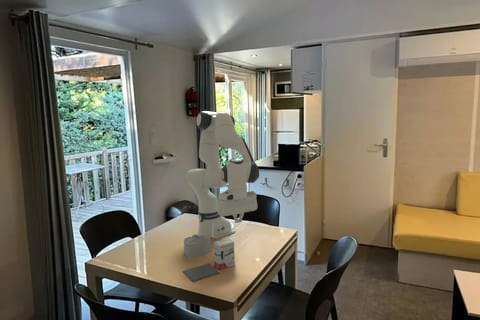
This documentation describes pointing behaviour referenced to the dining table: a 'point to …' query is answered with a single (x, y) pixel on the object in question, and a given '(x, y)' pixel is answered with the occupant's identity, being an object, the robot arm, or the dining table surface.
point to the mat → (201, 272)
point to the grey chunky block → (196, 246)
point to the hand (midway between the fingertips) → (238, 222)
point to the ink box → (224, 254)
